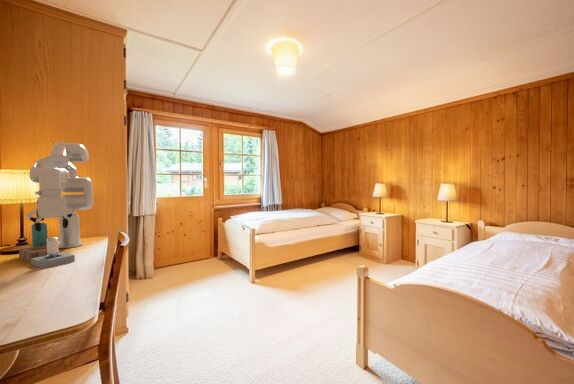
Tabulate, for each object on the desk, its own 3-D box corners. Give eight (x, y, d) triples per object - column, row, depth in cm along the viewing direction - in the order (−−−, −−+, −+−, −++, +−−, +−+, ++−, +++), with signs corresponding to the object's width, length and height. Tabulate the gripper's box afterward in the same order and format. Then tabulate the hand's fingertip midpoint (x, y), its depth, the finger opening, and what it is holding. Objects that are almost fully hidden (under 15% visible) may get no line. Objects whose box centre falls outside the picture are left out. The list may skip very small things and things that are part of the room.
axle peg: (46, 263, 119) (45, 238, 118) (56, 261, 122) (56, 236, 122) (49, 264, 117) (48, 239, 116) (60, 262, 120) (59, 237, 120)
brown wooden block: (19, 259, 127) (19, 249, 127) (45, 254, 136) (45, 245, 136) (31, 263, 119) (31, 252, 119) (58, 257, 128) (58, 248, 128)
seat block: (31, 264, 117) (31, 258, 117) (63, 258, 128) (63, 252, 127) (41, 268, 111) (41, 261, 111) (74, 261, 122) (74, 255, 122)
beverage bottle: (40, 254, 136) (38, 217, 135) (28, 254, 136) (26, 217, 135) (51, 251, 142) (50, 216, 142) (40, 251, 142) (39, 216, 142)
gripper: (28, 194, 109) (30, 233, 110) (76, 192, 124) (78, 227, 125) (22, 194, 113) (24, 231, 114) (69, 192, 128) (71, 225, 129)
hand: (52, 229), depth 119 cm, fingers open, 9 cm apart
